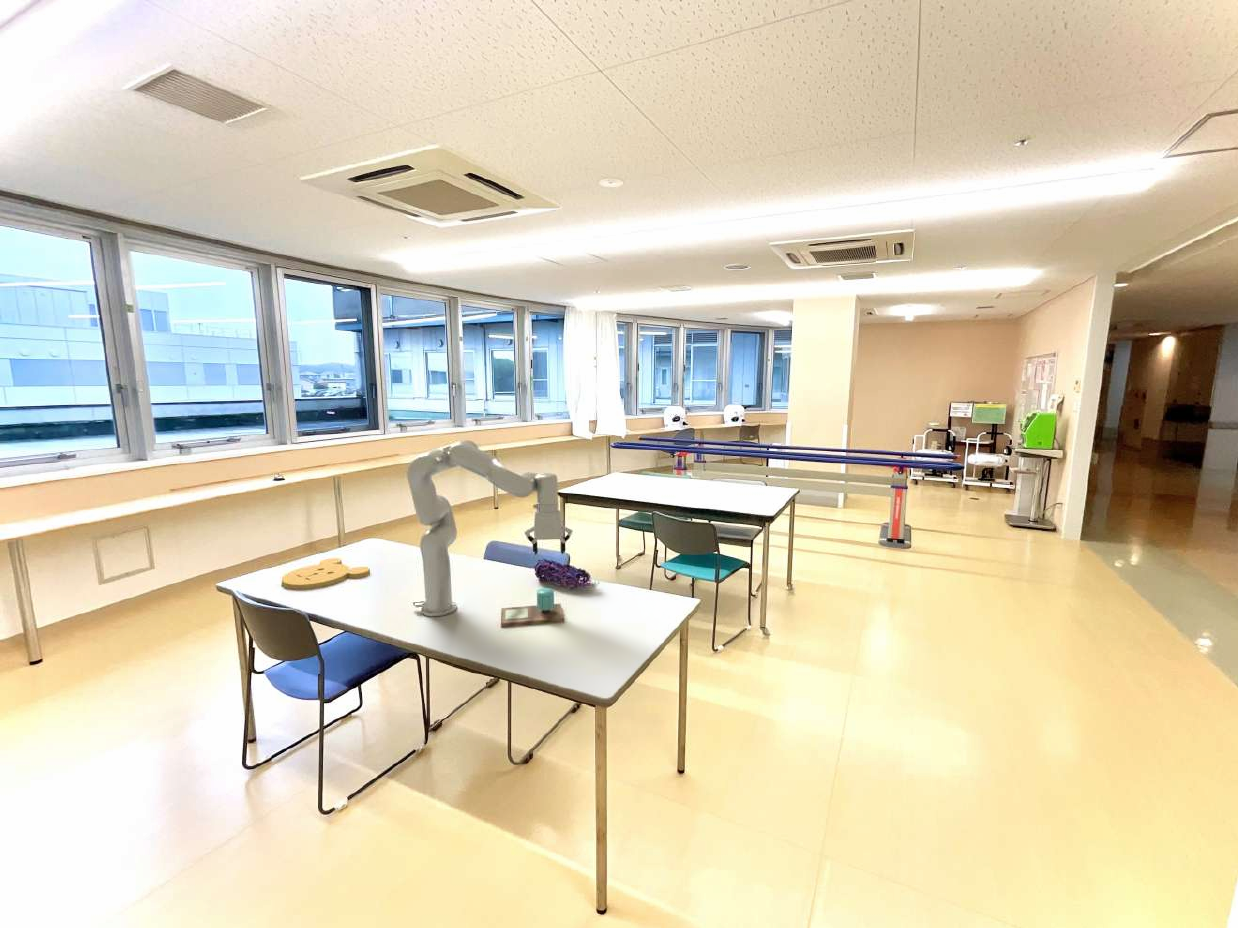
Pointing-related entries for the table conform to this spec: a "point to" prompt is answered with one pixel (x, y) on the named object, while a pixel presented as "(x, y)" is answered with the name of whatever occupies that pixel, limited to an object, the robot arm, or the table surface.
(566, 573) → the decorative ornament
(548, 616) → the post board
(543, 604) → the teal cap
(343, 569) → the decorative plaque
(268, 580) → the table surface
